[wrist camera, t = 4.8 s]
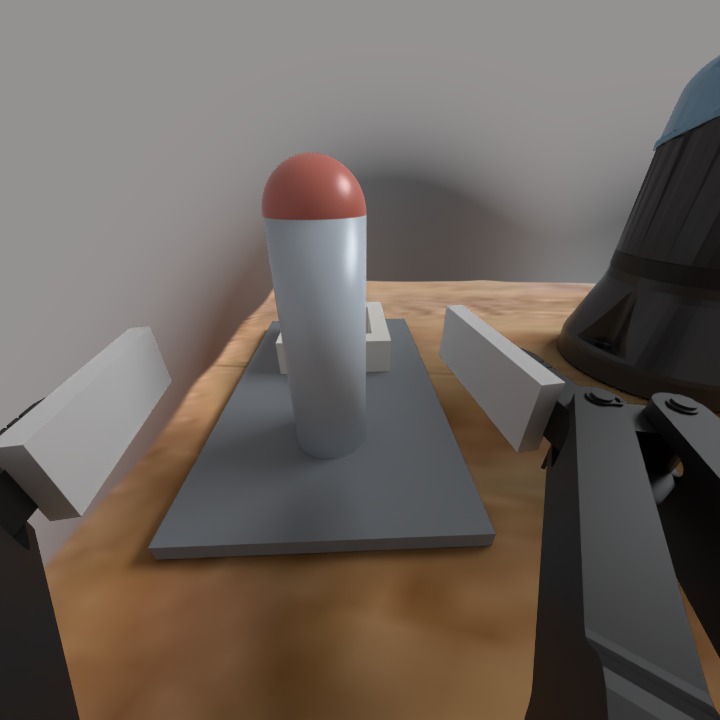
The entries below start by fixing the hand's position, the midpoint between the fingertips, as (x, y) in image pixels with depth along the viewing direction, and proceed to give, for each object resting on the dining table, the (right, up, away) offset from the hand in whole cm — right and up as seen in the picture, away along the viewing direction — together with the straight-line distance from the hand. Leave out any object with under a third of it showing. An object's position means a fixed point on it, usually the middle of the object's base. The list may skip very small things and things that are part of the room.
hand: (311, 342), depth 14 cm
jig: (0, -3, +12) cm, 12 cm away
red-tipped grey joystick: (0, -6, +6) cm, 8 cm away
